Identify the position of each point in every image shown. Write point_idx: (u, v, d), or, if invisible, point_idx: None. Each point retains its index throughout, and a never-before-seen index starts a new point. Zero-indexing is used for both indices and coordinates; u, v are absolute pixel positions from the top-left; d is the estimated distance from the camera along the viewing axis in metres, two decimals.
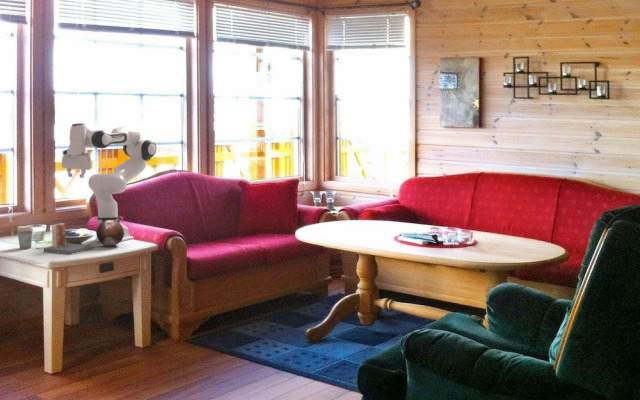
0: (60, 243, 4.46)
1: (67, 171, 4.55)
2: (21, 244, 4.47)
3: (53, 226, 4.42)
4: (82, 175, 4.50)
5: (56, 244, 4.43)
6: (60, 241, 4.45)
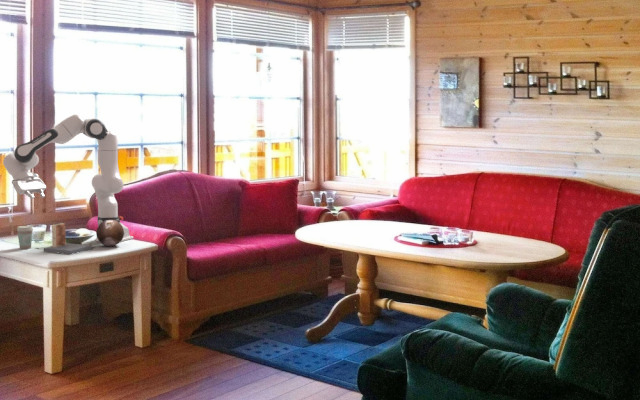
0: (60, 243, 4.46)
1: None
2: (21, 244, 4.47)
3: (53, 226, 4.42)
4: (30, 196, 4.45)
5: (56, 244, 4.43)
6: (60, 241, 4.45)
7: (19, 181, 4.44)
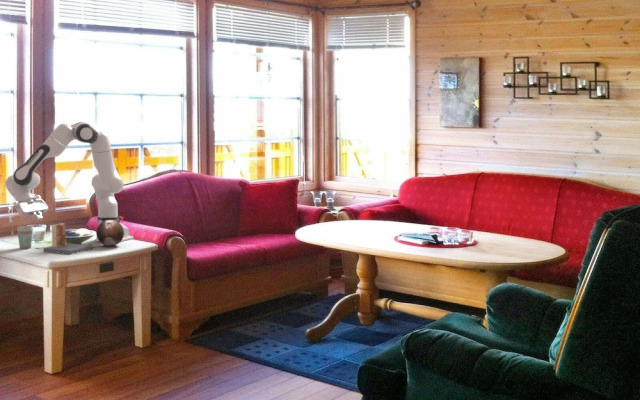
0: (60, 243, 4.46)
1: (38, 216, 4.52)
2: (21, 244, 4.47)
3: (53, 226, 4.42)
4: (37, 217, 4.49)
5: (56, 244, 4.43)
6: (60, 241, 4.45)
7: (21, 203, 4.45)
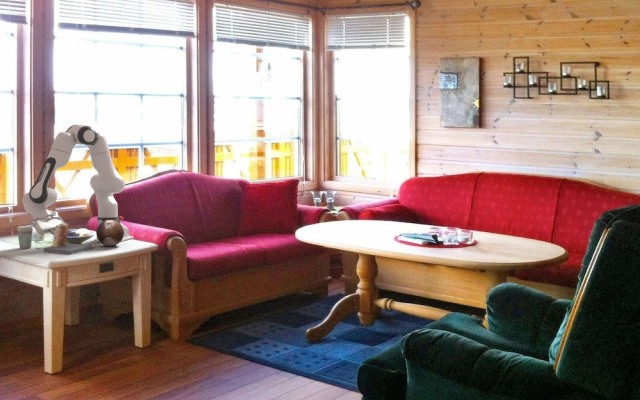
0: (60, 243, 4.45)
1: None
2: (21, 244, 4.47)
3: (57, 226, 4.41)
4: None
5: (56, 244, 4.43)
6: (61, 241, 4.45)
7: (39, 220, 4.41)
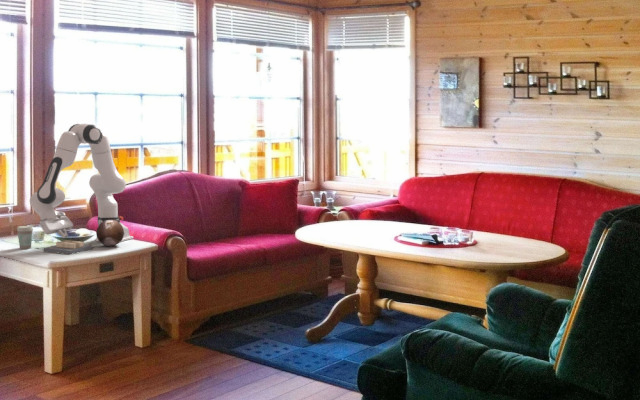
0: None
1: None
2: (21, 244, 4.47)
3: (73, 246, 4.38)
4: (62, 235, 4.43)
5: (59, 246, 4.42)
6: None
7: (46, 221, 4.39)
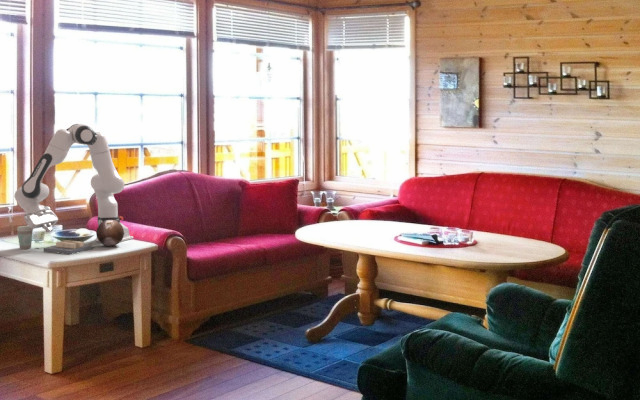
0: None
1: (48, 227, 4.51)
2: (21, 244, 4.47)
3: (73, 246, 4.38)
4: (47, 229, 4.47)
5: (59, 246, 4.42)
6: None
7: (31, 215, 4.43)
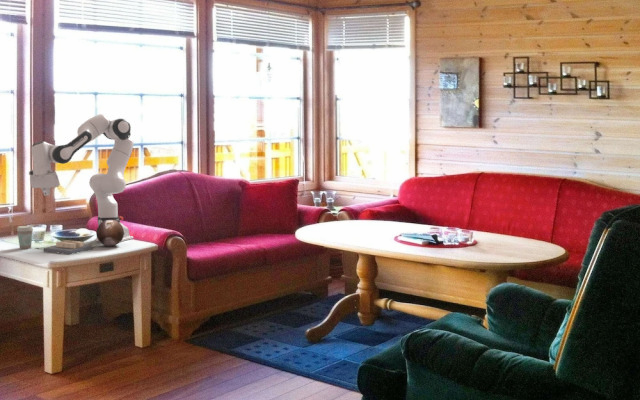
0: None
1: (42, 190, 4.54)
2: (21, 244, 4.47)
3: (73, 246, 4.38)
4: (48, 193, 4.53)
5: (59, 246, 4.42)
6: None
7: None
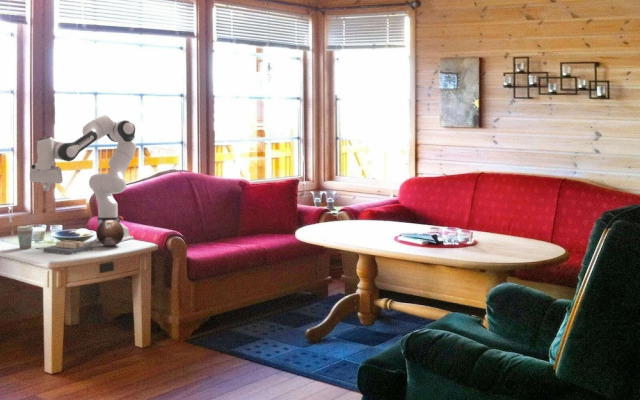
0: None
1: (42, 185, 4.54)
2: (21, 244, 4.47)
3: (73, 246, 4.38)
4: (48, 188, 4.53)
5: (59, 246, 4.42)
6: None
7: None
